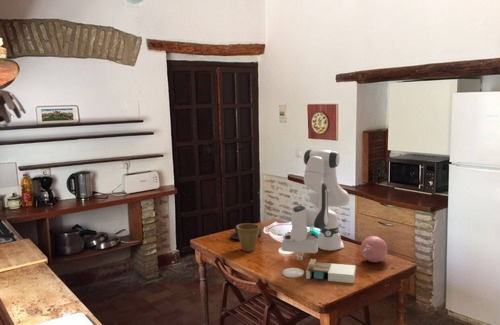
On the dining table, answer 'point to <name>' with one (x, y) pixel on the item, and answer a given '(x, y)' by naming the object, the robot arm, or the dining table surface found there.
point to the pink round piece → (374, 249)
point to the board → (338, 273)
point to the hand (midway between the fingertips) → (299, 259)
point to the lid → (318, 266)
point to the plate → (293, 272)
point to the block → (318, 274)
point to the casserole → (237, 232)
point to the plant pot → (248, 236)
